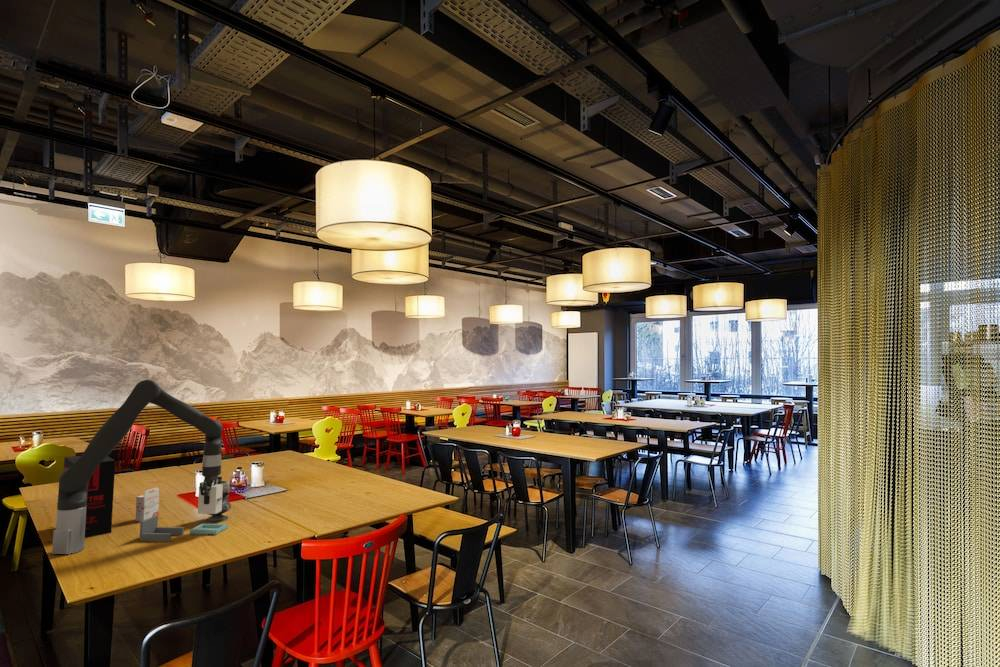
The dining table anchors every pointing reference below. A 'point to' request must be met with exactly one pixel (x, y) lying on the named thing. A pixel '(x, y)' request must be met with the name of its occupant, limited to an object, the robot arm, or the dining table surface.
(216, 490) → the cream upright block
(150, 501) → the ink cartridge box
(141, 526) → the bay
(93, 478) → the product box
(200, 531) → the tray
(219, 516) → the apothecary jar
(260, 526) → the dining table surface
